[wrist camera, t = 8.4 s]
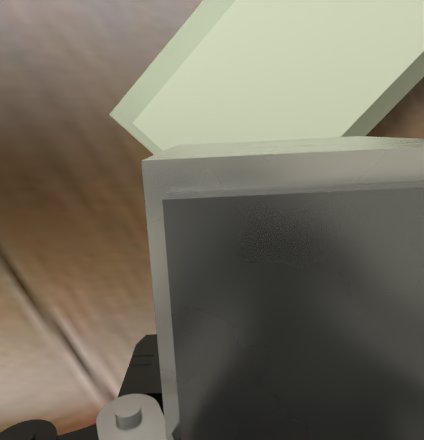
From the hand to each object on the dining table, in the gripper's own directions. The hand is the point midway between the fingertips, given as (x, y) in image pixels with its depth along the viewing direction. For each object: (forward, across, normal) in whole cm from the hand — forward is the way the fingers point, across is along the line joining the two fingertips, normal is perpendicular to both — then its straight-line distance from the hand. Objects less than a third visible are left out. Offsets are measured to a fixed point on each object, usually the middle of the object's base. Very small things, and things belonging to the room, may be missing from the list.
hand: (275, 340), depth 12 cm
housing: (+1, 0, 0) cm, 1 cm away
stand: (+17, -5, -11) cm, 21 cm away
